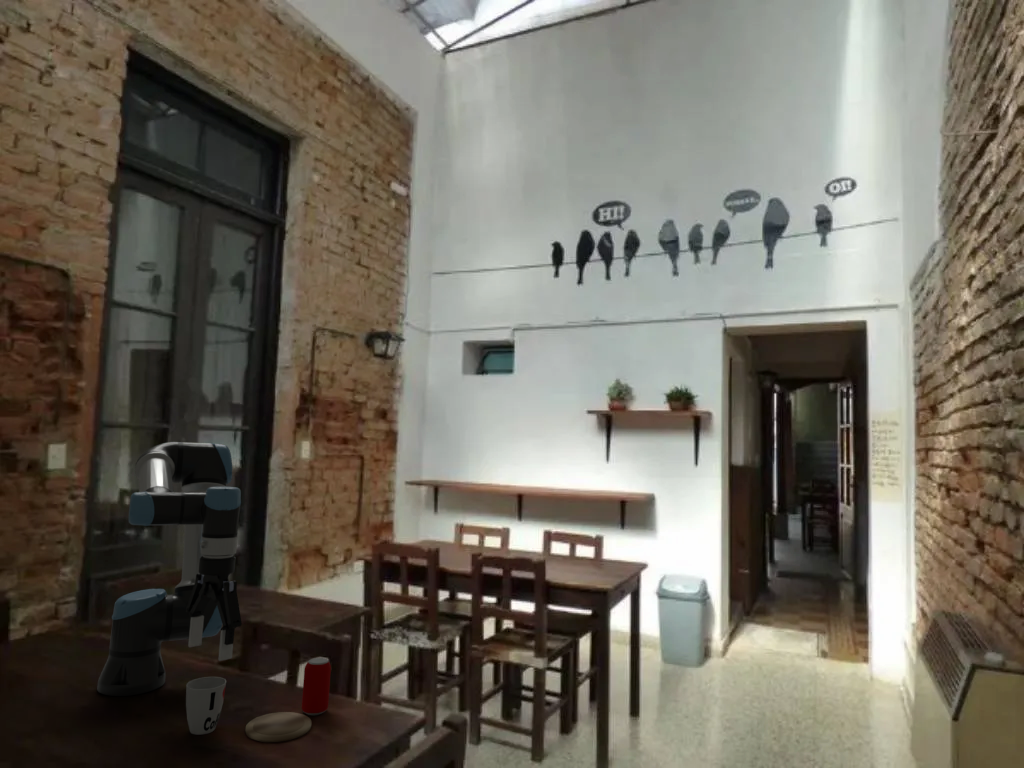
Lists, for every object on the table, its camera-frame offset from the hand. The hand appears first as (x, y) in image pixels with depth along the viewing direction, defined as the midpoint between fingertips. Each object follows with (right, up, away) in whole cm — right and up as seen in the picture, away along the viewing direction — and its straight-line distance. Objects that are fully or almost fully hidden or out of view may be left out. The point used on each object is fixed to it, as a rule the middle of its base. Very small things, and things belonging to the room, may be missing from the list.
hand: (209, 652), depth 147 cm
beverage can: (+20, -19, +11) cm, 30 cm away
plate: (+15, -18, +1) cm, 23 cm away
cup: (-1, -17, -1) cm, 17 cm away
